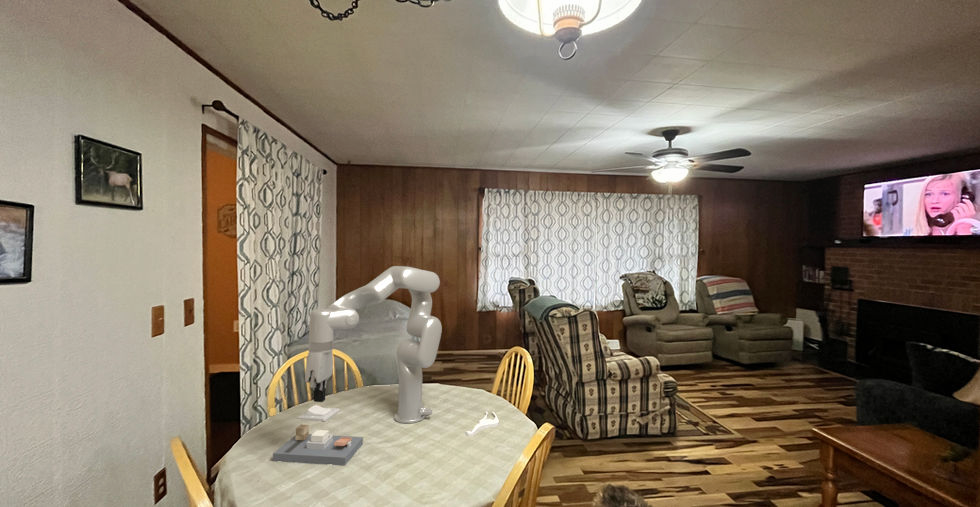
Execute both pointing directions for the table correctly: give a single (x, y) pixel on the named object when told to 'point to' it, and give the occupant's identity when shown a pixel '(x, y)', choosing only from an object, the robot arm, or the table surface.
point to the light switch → (319, 413)
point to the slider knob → (302, 432)
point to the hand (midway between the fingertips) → (319, 400)
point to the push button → (320, 436)
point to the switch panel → (318, 451)
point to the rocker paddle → (343, 441)
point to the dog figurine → (483, 424)
